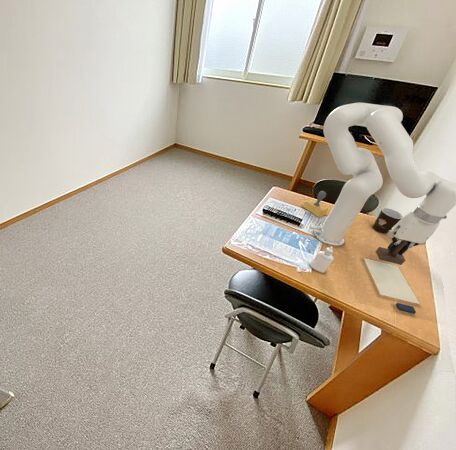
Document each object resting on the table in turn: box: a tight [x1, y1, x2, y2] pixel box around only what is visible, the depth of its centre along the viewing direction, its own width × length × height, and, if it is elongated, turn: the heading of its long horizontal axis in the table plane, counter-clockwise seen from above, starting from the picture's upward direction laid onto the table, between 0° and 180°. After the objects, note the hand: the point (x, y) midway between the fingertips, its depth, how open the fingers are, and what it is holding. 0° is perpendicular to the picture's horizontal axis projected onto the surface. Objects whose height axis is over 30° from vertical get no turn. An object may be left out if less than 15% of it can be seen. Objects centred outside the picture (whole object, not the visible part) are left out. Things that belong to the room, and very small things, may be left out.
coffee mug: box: [372, 207, 404, 235], centre depth 131 cm, size 12×9×10 cm
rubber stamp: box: [302, 190, 329, 218], centre depth 141 cm, size 10×6×12 cm, turn 27°
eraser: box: [395, 302, 417, 315], centre depth 96 cm, size 5×2×2 cm, turn 74°
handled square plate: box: [375, 240, 408, 266], centre depth 107 cm, size 8×5×10 cm, turn 74°
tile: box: [363, 257, 420, 305], centre depth 107 cm, size 13×20×1 cm, turn 164°
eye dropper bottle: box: [310, 245, 334, 274], centre depth 106 cm, size 4×6×12 cm
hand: (394, 251), depth 108 cm, fingers closed on handled square plate, 2 cm apart
